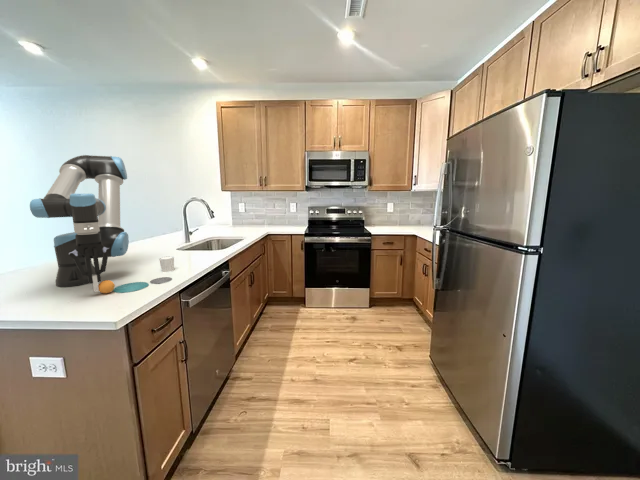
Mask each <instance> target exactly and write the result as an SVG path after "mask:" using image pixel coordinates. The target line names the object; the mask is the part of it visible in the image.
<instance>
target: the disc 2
mask: <svg viewBox="0 0 640 480" xmlns="http://www.w3.org/2000/svg"><path fill="white" fill-rule="evenodd" d="M172 280H173V278H172V277H170V276H168V277H167V276H163V277H157V278H153V279H151V280H150V281H149V283H150V284H151V285H152V284H154V285H157V284H164V283H165V284H166V283H169V282H170V281H172Z"/></svg>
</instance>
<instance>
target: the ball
mask: <svg viewBox="0 0 640 480" xmlns="http://www.w3.org/2000/svg"><path fill="white" fill-rule="evenodd" d="M98 287H99V291H98V292H100V293H101V294H109V293H111V292H113V290H114V288H115V287H116V285H115V282H114V281H112V280H109V279H106V280H101V282H98Z"/></svg>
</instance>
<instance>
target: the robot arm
mask: <svg viewBox="0 0 640 480" xmlns="http://www.w3.org/2000/svg"><path fill="white" fill-rule="evenodd" d="M58 172H59V175H58V176H57V178H56V179H55V180H54V182H53V183H52V185H51V186H50V188H49V189H48V191H47V193H46V194H45V196H44V197H43V198H32V199H31V201H30V203H29V209H30V210H29V211H30V213H31V214H32V216H34V217H35V218H40V219H42V218H45V219H50V218H53V219H55V218H72V222H73V223H72V224H73V231H72V232H68V233H63V234H59V235H57V236H55V237H54V238H53V248H54V251H55V252H54V253H55V257H56V261H57V267H58V268H57V272H56V277H55V280H54V281H55V282H54V283H55V285H56V287H60V288H62V287H65V288H66V287H67V288H68V287H77V286H82V285H87V284H91V285H92V291H93V292H100V291H99V287H98V285H99V283H100V282H102V278H101V274H103V273H105V272H106V270H107V264H108V259H109V258H115V257H121V256H124V255H126V253H127V252H128V249H129V243H130V242H129V233H127V232H126V231H125V229H124V228H123V227H121V186H122V185H124V181H126V180H127V179H128V174H127V170H126V166H125V162H124V160H123V159H122V158H121V157H120V156H112V155H110V156H109V155H107V156H106V155H86V154H83V155H78V156H74V157H72V158H70V159H68V160H67V161H65V162H64V163H63V164H62V165H61V166H60V167H59V169H58ZM87 179H89V180H94V181H95V182H96V183H98V198H96V196H95V194H94V193H76V191H77V189H78V187H79V185H80V183H82V182H84V181H85V180H87ZM92 259H93V262H92ZM99 259H102V260H101V264H100V262H99V261H100V260H99Z"/></svg>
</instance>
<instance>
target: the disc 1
mask: <svg viewBox="0 0 640 480" xmlns="http://www.w3.org/2000/svg"><path fill="white" fill-rule="evenodd" d="M148 287H149V282H146V281H135V282H128V283H124V284H121V285H118V286H115V287H114V290H113V291H112V292H114V293H118V294H120V293H121V294H122V293H123V294H125V293H132V292H137V291H140V290H143V289H146V288H148Z"/></svg>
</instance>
